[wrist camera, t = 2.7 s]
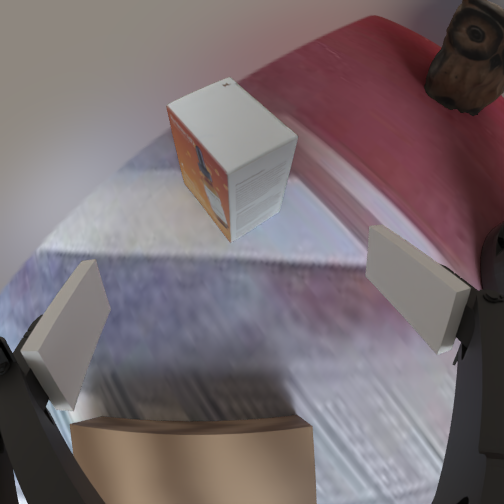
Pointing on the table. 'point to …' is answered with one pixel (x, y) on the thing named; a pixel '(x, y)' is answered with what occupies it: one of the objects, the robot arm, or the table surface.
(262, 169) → the small box
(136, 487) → the walnut block
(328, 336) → the table surface
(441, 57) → the owl
